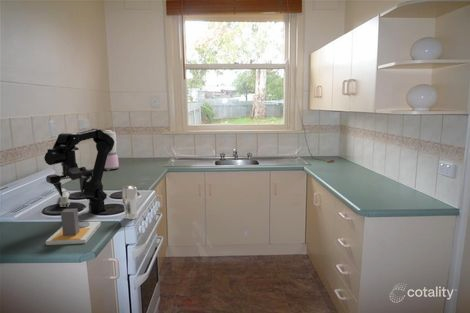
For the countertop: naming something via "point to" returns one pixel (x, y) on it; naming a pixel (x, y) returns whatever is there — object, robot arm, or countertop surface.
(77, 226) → the chute block
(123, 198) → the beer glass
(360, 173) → the countertop surface
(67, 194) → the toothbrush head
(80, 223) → the white plate with inlay
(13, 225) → the countertop surface
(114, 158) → the blender
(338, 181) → the countertop surface
